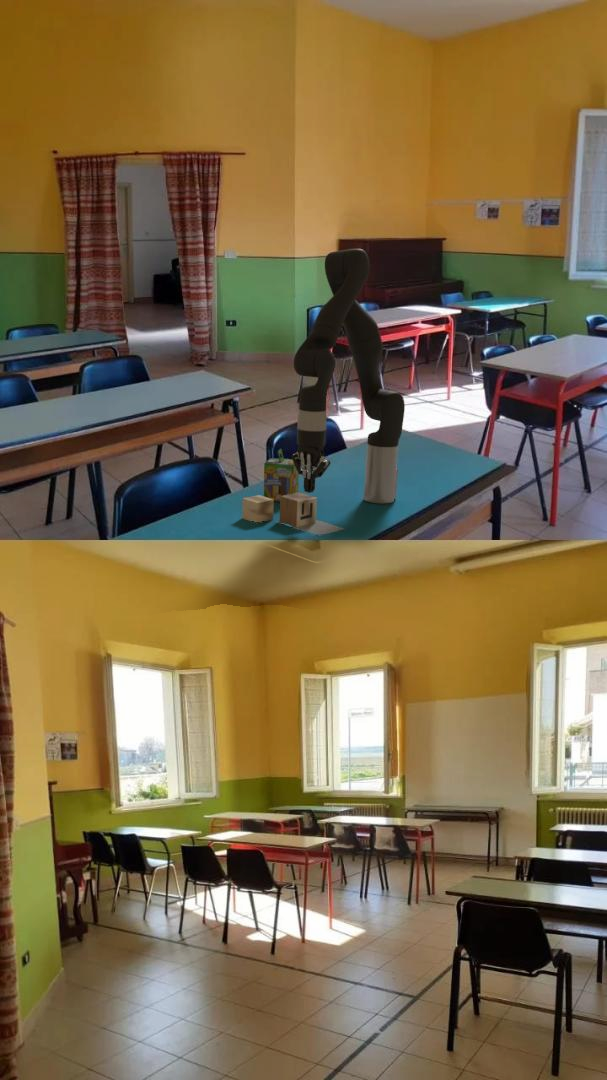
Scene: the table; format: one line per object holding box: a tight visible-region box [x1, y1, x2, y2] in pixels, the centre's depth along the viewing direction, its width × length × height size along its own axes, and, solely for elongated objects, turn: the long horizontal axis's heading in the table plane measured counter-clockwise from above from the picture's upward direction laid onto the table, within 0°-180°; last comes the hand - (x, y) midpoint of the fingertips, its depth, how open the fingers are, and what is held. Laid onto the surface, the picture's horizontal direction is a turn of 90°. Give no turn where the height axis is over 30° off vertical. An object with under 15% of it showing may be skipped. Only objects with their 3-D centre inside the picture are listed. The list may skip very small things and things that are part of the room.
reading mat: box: [276, 519, 345, 535], centre depth 224 cm, size 11×16×1 cm
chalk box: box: [263, 448, 300, 502], centre depth 249 cm, size 9×9×15 cm
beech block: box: [241, 494, 275, 523], centre depth 227 cm, size 6×6×6 cm
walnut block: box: [279, 491, 318, 527], centre depth 226 cm, size 7×7×7 cm
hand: (308, 491), depth 222 cm, fingers closed
